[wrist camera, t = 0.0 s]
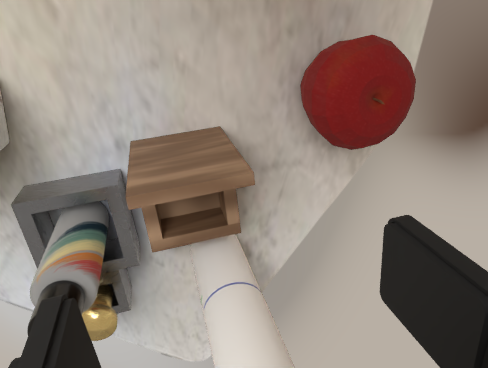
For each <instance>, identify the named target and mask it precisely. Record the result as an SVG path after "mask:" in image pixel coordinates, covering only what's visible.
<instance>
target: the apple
mask: <svg viewBox="0 0 488 368" xmlns="http://www.w3.org/2000/svg"><path fill="white" fill-rule="evenodd" d="M415 83H416V79H415V76H414V73H413V70H412V67H411V63H410V62H409V60H408V59H407V58H406V57H405V55H404V54H403V53H402V52H401V51H400V50H399V49H398V48H397V47H396V46H395V45H394V44H393V43H392V42H391V41H389V40H386V39H383V38H380V37H378V36H375V35H369V36H365V37H361V38H357V39H353V40H347V41H339V42H337V43H335V44H333V45H331V46H330V47H328V48H326V49H324V50H323V51H321V52H320V53H319V54H318V56H317V57H316V58H315V59H314V61H313V62H312V63H311V64H310V65H309V67H308V68H307V69H306V70H305V73H304V76H303V79H302V82H301V96H302V103H303V107H304V109H305V111H306V114H307V116H308V118H309V120H310V122H311V124H312V125H313V126H314V127H315V128H316V130H317V131H318V132H319V133H320V134H321V135H322V136H323V137H324V138H325V139H327V140H328V141H329V142H330V143H331V144H332V145H334V146H338V147H342V148H347V149H351V150H352V149H358V148H364V147H367V146H371V145H375V144H378V143H380V142H382V141H383V140H385V139H386V138H387V137H389V136H390V135H392V134H393V133H394V132H395V131H396V130H397V128H398V127H399V126H400V124H401V123H402V122H403V120H404V119H405V118H406V116H407V113H408V111H409V109H410V106H411V104H412V102H413V99H414V91H415Z"/></svg>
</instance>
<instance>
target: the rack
mask: <svg viewBox="0 0 488 368" xmlns="http://www.w3.org/2000/svg"><path fill="white" fill-rule="evenodd" d="M251 185H255V181H254V172H253V171H252V170H251V168H250V167H249V165H248V164H247V163H246V161H245V160H244V159H243V157H242V156H241V155H240V153H239V152H238V151H237V149H236V148H235V146H234V145H233V144H232V142H231V141H230V140H229V138H228V137H227V136H226V134H225V133H224V131H223V130H222V129H221V127H214V128H208V129H202V130H196V131H190V132H184V133H178V134H172V135H166V136H160V137H154V138H148V139H142V140H136V141H131V143H130V154H129V165H128V176H127V187H126V201H127V205H128V209H129V210H131V209H136V208H142V212H143V216H144V220H145V224H146V228H147V232H148V236H149V240H150V244H151V249H152V252H157V251H161V250H166V249H170V248H175V247H179V246H184V245H188V244H193V243H197V242H202V241H206V240H211V239H215V238H220V237H224V236H229V235H233V234H238V233H241V228H240V219H239V211H238V203H237V195H236V188H241V187H246V186H251Z"/></svg>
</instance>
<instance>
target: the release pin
mask: <svg viewBox="0 0 488 368" xmlns="http://www.w3.org/2000/svg"><path fill="white" fill-rule="evenodd" d="M112 297H113V290H112V288H111V287H110V286H109V285H107V284H105V285H101V286H99V287H98V292H97V296H96V299H95V301H94V303H93V304H92V306H91V307H90V308H89V309H87V310H86V311H85V312H83V314H82V317H83V320H84V323H85V325H86V328H87V331H88V333H89V336H90V339H91V341H98V340H102V339H105V338H107V337H109V336H111V335H112V334H113V333H114V331H115V330H116V327H117V314H116V312H115V311H114V309H112V308H111V306H112Z"/></svg>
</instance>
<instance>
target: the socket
mask: <svg viewBox="0 0 488 368" xmlns="http://www.w3.org/2000/svg"><path fill="white" fill-rule="evenodd" d="M102 200H107V201H108V204H109V208H110V211H111V214H112V218H113V221H114V225H115V228H116V232H117V235H118V238H117V239H112V240H107V241H106V244H105V250H104V256H103V263H102V269H101V275H100V281H99V286H101V285H105V284H107V285H109V286H110V287H111V288H112V290H113V297H112V306H111V308H112V309H114V311H115V312H116V314H117V313H121V312H125V311H129V310H131V282H130V279H129V275H128V272H127V268H128V267H133V266H137V265H139V240H138V236H137V232H136V228H135V225H134V221H133V217H132V213H131V210H129V209H128V205H127V201H126V190H125V186H124V182H123V179H122V175H121V171H120V169H117V170H111V171H106V172H100V173H95V174H89V175H83V176H78V177H72V178H67V179H61V180H56V181H50V182H44V183H39V184H33V185H28V186H24V187H23V189H22V190H21V191H20V193H19V194H18V196H17V197H16V198H15V200H14V201H13V203H12V204H11V206H12V208H13V211H14V213H15V215H16V218H17V220H18V223H19V225H20V228H21V230H22V232H23V235H24V237H25V240H26V242H27V245H28V247H29V249H30V252H31V254H32V257H33V259H34V261H35V264H36V266H37V269H38V267H39V264H40V262H41V260H42V257H43V255H44V252H45V250H46V248H47V245H48V243H49V241H50V238H51V236H52V233H53V231H54V226H53V224H52V221H51V218H50V215H49V213H48V211H50V210H55V209H60V208H65V207H70V206H76V205H81V204H86V203H91V202H96V201H102Z"/></svg>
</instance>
